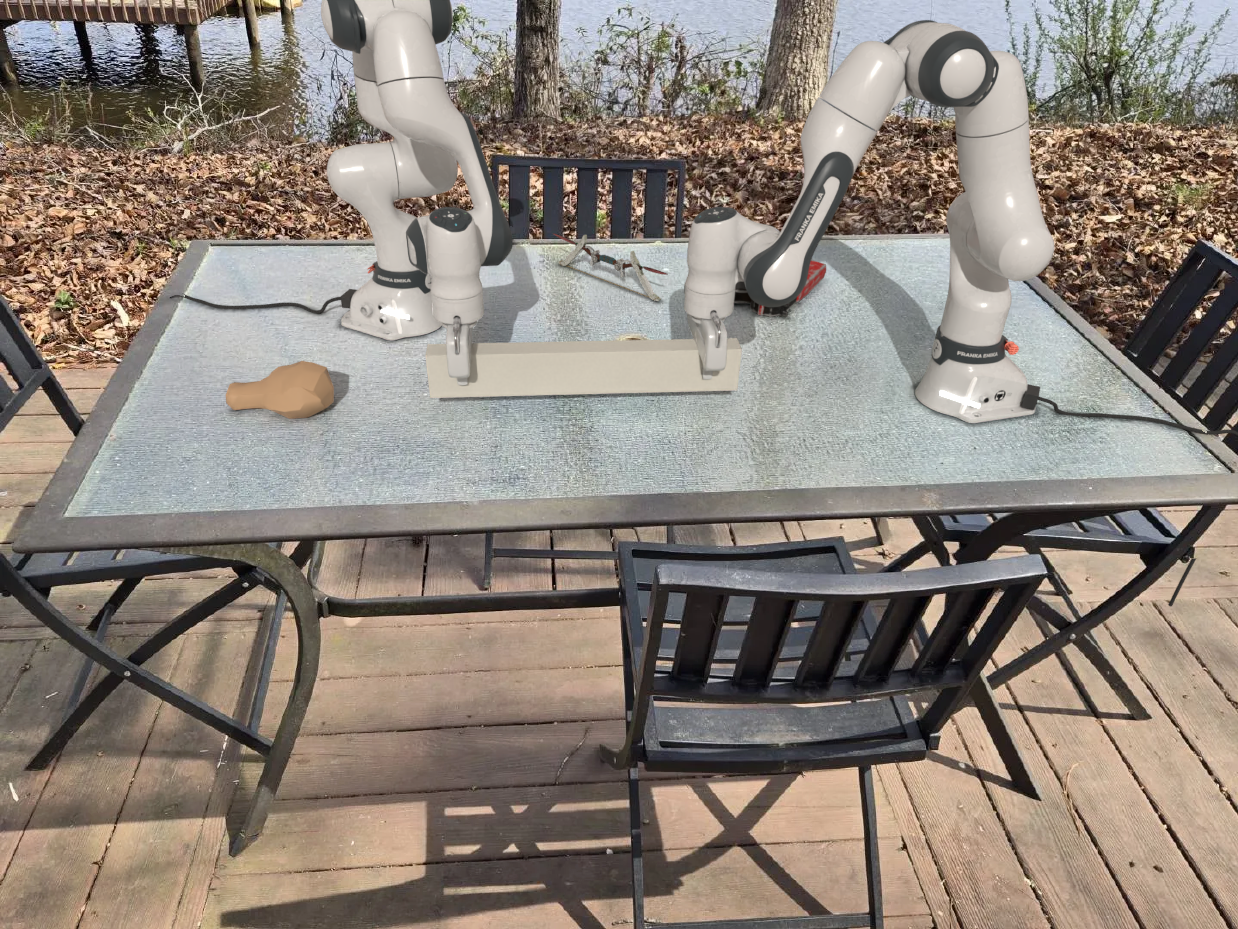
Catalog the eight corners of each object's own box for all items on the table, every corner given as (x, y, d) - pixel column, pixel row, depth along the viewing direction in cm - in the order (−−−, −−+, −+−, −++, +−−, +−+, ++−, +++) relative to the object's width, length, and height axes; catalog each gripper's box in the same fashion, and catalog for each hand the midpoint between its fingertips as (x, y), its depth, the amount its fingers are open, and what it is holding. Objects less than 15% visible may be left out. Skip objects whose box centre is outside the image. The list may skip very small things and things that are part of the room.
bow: (669, 303, 208) (671, 262, 203) (664, 305, 207) (666, 264, 202) (556, 260, 230) (555, 222, 224) (551, 262, 228) (550, 224, 223)
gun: (708, 284, 207) (784, 305, 199) (760, 245, 229) (831, 262, 221) (706, 302, 209) (781, 323, 201) (758, 261, 231) (828, 278, 223)
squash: (333, 425, 159) (316, 386, 153) (227, 433, 161) (206, 395, 155) (347, 387, 167) (331, 349, 161) (246, 396, 169) (227, 358, 162)
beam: (430, 398, 159) (425, 355, 154) (432, 385, 163) (427, 344, 158) (737, 390, 164) (742, 349, 159) (732, 378, 168) (737, 337, 163)
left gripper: (474, 331, 144) (479, 404, 152) (477, 281, 160) (482, 349, 168) (435, 332, 143) (442, 405, 151) (442, 281, 160) (448, 349, 168)
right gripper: (738, 324, 148) (731, 396, 155) (715, 278, 164) (710, 345, 172) (701, 325, 147) (696, 397, 155) (682, 279, 164) (678, 346, 172)
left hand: (463, 375), depth 160 cm, fingers closed on beam, 4 cm apart
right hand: (703, 369), depth 164 cm, fingers closed on beam, 4 cm apart
